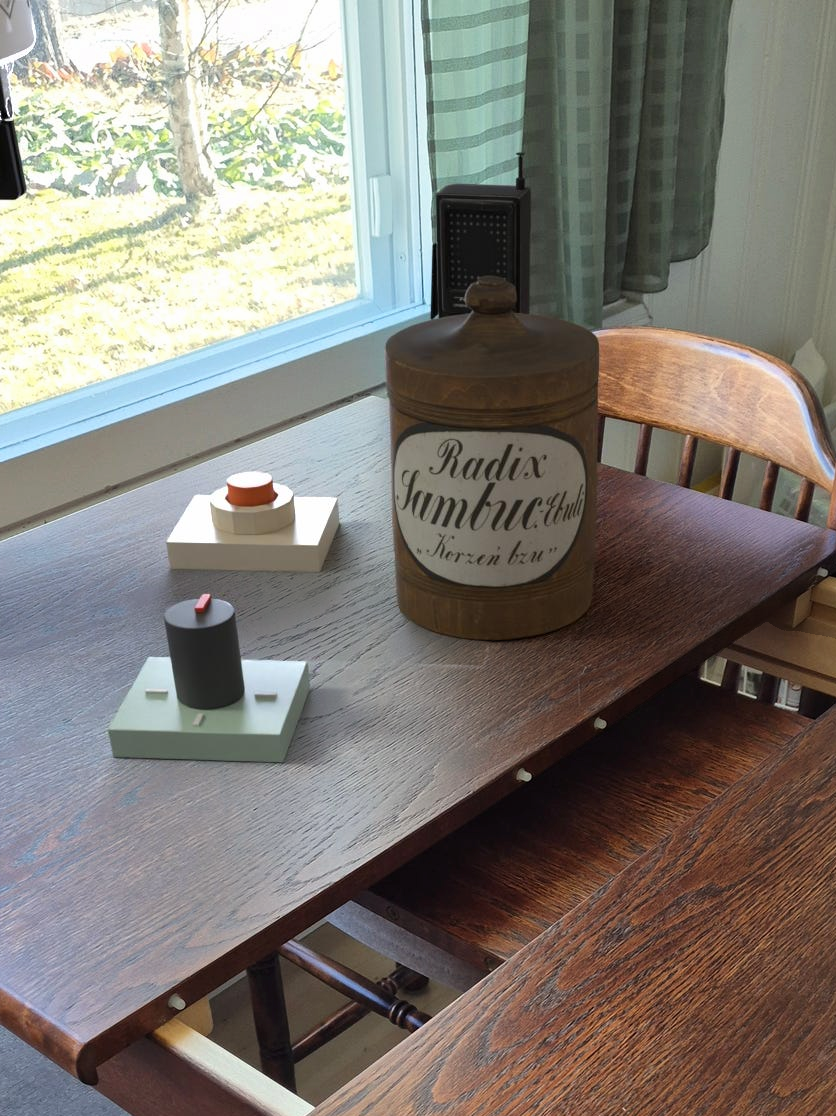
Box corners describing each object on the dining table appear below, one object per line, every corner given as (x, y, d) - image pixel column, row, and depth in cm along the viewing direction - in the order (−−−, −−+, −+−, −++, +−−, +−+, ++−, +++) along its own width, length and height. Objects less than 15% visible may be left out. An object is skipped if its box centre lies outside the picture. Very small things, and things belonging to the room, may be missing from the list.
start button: (225, 509, 113) (222, 487, 111) (234, 492, 115) (231, 470, 114) (270, 510, 112) (267, 488, 111) (278, 493, 115) (276, 471, 114)
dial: (236, 710, 91) (225, 624, 87) (169, 708, 91) (154, 622, 88) (251, 678, 94) (240, 594, 91) (186, 676, 95) (173, 592, 91)
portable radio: (428, 491, 125) (416, 160, 108) (446, 467, 129) (437, 145, 113) (516, 498, 123) (518, 163, 107) (531, 473, 128) (534, 148, 111)
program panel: (112, 757, 91) (106, 727, 89) (152, 683, 98) (147, 654, 97) (283, 763, 90) (280, 732, 89) (310, 688, 98) (307, 658, 96)
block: (169, 569, 113) (161, 519, 110) (198, 520, 120) (191, 472, 118) (320, 572, 112) (315, 522, 109) (339, 523, 120) (336, 475, 117)
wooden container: (386, 641, 103) (367, 308, 88) (406, 557, 114) (392, 249, 100) (592, 644, 102) (607, 309, 88) (593, 560, 113) (606, 250, 99)
